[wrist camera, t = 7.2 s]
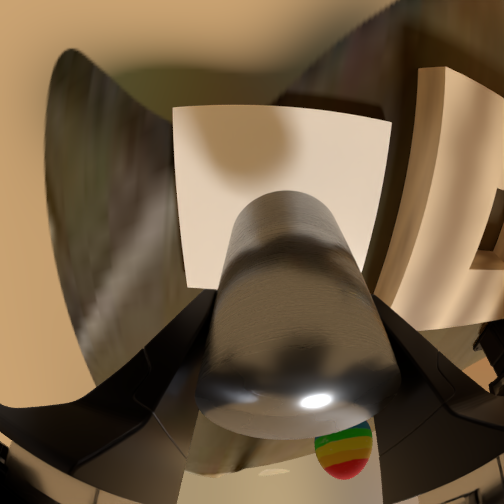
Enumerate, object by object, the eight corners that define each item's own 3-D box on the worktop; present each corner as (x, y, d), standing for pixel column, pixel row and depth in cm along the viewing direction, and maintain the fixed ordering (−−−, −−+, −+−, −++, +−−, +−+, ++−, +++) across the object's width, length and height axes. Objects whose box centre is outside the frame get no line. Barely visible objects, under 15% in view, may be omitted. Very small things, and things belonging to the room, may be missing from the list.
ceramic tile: (385, 121, 13) (391, 122, 12) (352, 287, 19) (354, 294, 19) (176, 106, 13) (172, 107, 13) (190, 280, 20) (187, 287, 19)
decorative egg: (304, 418, 32) (308, 482, 23) (362, 401, 29) (373, 468, 21) (322, 432, 35) (326, 486, 27) (371, 418, 33) (381, 473, 24)
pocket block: (550, 143, 10) (571, 153, 8) (499, 299, 20) (512, 316, 17) (418, 68, 11) (445, 66, 8) (368, 306, 20) (378, 333, 18)
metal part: (347, 194, 11) (437, 338, 4) (328, 287, 14) (360, 433, 7) (230, 187, 11) (177, 337, 4) (231, 283, 14) (207, 435, 7)
